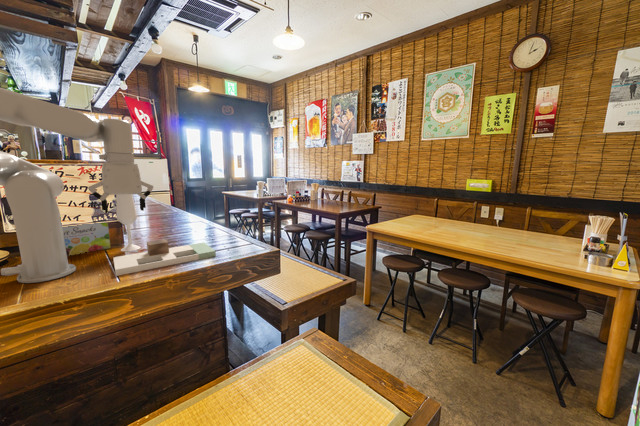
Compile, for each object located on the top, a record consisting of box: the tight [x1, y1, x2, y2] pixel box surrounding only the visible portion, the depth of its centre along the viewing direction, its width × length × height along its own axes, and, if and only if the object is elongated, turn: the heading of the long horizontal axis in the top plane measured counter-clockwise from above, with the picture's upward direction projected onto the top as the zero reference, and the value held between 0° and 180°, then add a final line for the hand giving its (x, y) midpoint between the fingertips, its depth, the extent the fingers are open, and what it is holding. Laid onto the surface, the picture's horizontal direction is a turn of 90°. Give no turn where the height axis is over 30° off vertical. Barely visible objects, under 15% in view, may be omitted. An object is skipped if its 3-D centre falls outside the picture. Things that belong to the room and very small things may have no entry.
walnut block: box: [146, 238, 170, 256], centre depth 97 cm, size 6×5×4 cm
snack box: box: [62, 223, 111, 257], centre depth 100 cm, size 21×6×15 cm, turn 143°
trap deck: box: [112, 242, 217, 277], centre depth 96 cm, size 30×14×2 cm, turn 129°
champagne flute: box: [115, 194, 142, 252], centre depth 105 cm, size 7×7×24 cm
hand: (124, 211), depth 89 cm, fingers open, 9 cm apart
